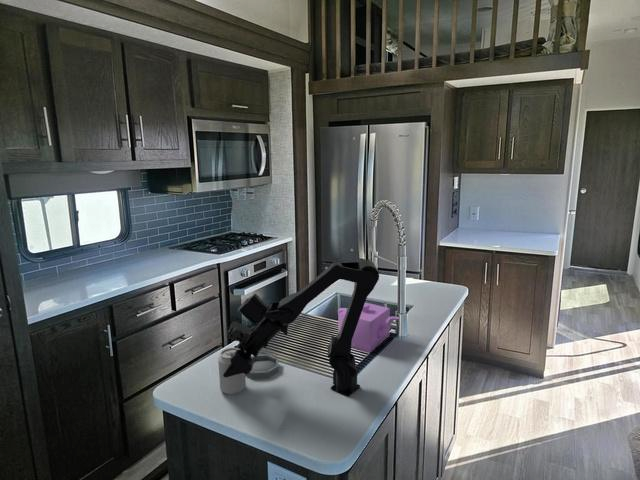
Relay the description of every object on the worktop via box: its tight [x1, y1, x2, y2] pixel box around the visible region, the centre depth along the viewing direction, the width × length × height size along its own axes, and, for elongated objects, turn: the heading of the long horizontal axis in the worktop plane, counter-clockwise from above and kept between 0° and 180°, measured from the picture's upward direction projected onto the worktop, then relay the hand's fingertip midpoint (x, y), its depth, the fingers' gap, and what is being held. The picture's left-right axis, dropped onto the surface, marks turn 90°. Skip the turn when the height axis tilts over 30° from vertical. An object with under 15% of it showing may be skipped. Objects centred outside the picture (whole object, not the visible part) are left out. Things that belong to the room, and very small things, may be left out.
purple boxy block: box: [337, 302, 400, 353], centre depth 154 cm, size 15×25×14 cm, turn 55°
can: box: [217, 347, 246, 395], centre depth 124 cm, size 8×8×12 cm
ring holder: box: [245, 353, 280, 380], centre depth 137 cm, size 12×12×2 cm
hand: (227, 368), depth 124 cm, fingers open, 9 cm apart
